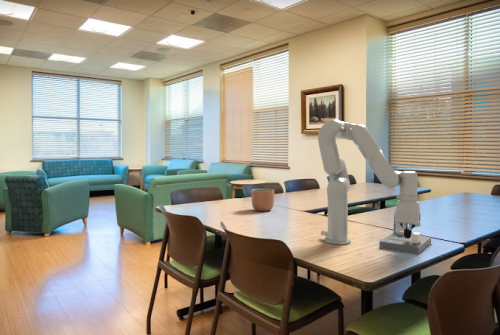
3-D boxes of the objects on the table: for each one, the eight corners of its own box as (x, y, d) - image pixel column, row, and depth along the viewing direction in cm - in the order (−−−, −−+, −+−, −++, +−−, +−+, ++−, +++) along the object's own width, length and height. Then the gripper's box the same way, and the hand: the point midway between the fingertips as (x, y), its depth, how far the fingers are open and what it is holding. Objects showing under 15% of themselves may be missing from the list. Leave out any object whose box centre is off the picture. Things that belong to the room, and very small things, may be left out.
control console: (379, 247, 166) (379, 236, 166) (394, 237, 183) (394, 228, 183) (418, 254, 156) (418, 242, 155) (431, 243, 172) (431, 233, 172)
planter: (259, 207, 277) (259, 188, 276) (278, 209, 267) (278, 189, 267) (246, 210, 264) (246, 190, 263) (266, 213, 254) (266, 191, 253)
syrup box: (396, 233, 192) (397, 206, 191) (408, 235, 188) (408, 207, 187) (393, 235, 188) (393, 208, 187) (405, 237, 184) (405, 209, 183)
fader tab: (410, 242, 162) (411, 233, 161) (414, 240, 165) (414, 231, 165) (418, 243, 160) (418, 234, 159) (421, 241, 164) (421, 232, 163)
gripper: (388, 197, 166) (388, 237, 167) (423, 200, 156) (423, 242, 157) (394, 196, 171) (393, 234, 172) (428, 198, 162) (427, 238, 163)
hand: (407, 237), depth 165 cm, fingers closed
